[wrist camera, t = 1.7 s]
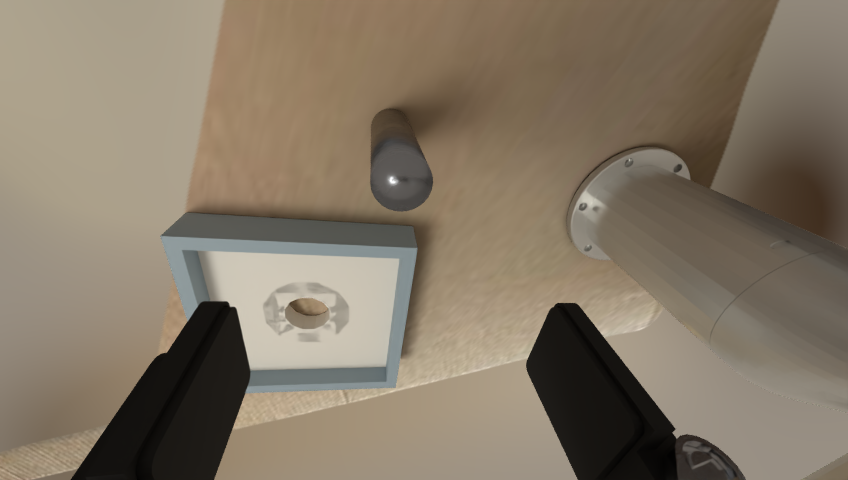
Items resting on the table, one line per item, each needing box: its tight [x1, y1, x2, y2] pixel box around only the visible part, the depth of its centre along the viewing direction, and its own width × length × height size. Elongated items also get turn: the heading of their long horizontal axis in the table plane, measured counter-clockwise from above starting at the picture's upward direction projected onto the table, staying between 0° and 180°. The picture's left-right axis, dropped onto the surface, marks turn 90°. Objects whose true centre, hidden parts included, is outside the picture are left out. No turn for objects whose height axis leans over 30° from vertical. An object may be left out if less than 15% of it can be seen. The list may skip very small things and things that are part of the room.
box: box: [160, 213, 418, 393], centre depth 33 cm, size 20×20×4 cm
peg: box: [370, 109, 433, 211], centre depth 21 cm, size 3×3×12 cm
